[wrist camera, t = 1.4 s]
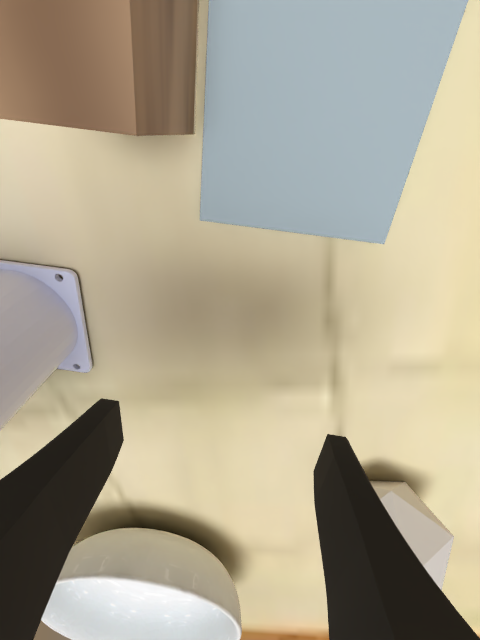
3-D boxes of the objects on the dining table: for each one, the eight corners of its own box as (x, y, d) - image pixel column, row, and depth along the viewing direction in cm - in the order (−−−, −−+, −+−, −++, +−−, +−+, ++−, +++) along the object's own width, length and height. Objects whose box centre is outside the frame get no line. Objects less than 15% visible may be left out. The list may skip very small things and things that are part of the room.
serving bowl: (194, 603, 45) (182, 674, 39) (49, 552, 40) (11, 624, 35) (282, 546, 35) (284, 631, 29) (103, 472, 31) (63, 553, 25)
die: (365, 438, 26) (311, 559, 22) (485, 504, 23) (451, 666, 18) (349, 466, 33) (305, 564, 28) (441, 520, 29) (407, 643, 24)
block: (114, 124, 16) (-6, 117, 9) (100, -53, 13) (-100, -270, 6) (194, 134, 16) (136, 135, 9) (200, -41, 13) (117, -247, 6)
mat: (201, 218, 18) (199, 220, 17) (219, -214, 11) (218, -225, 10) (381, 241, 18) (384, 243, 17) (525, -181, 10) (534, -192, 10)
